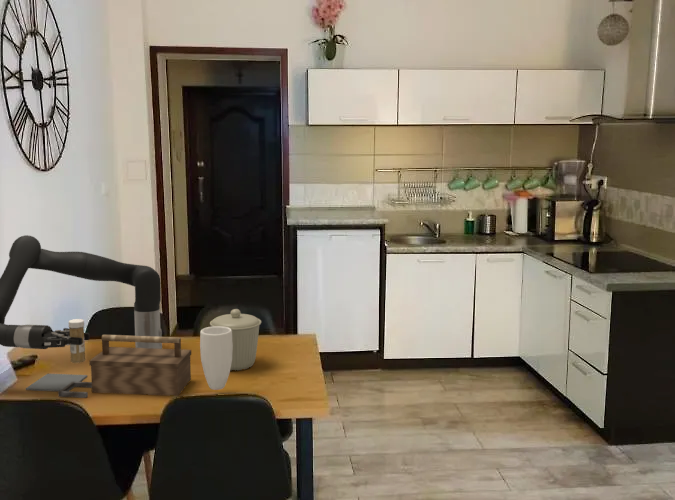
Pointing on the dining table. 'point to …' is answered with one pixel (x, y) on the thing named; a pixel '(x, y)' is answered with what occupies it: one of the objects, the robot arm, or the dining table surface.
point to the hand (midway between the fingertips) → (85, 338)
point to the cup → (216, 355)
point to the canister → (241, 337)
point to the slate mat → (55, 382)
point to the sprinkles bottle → (77, 331)
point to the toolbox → (136, 368)
